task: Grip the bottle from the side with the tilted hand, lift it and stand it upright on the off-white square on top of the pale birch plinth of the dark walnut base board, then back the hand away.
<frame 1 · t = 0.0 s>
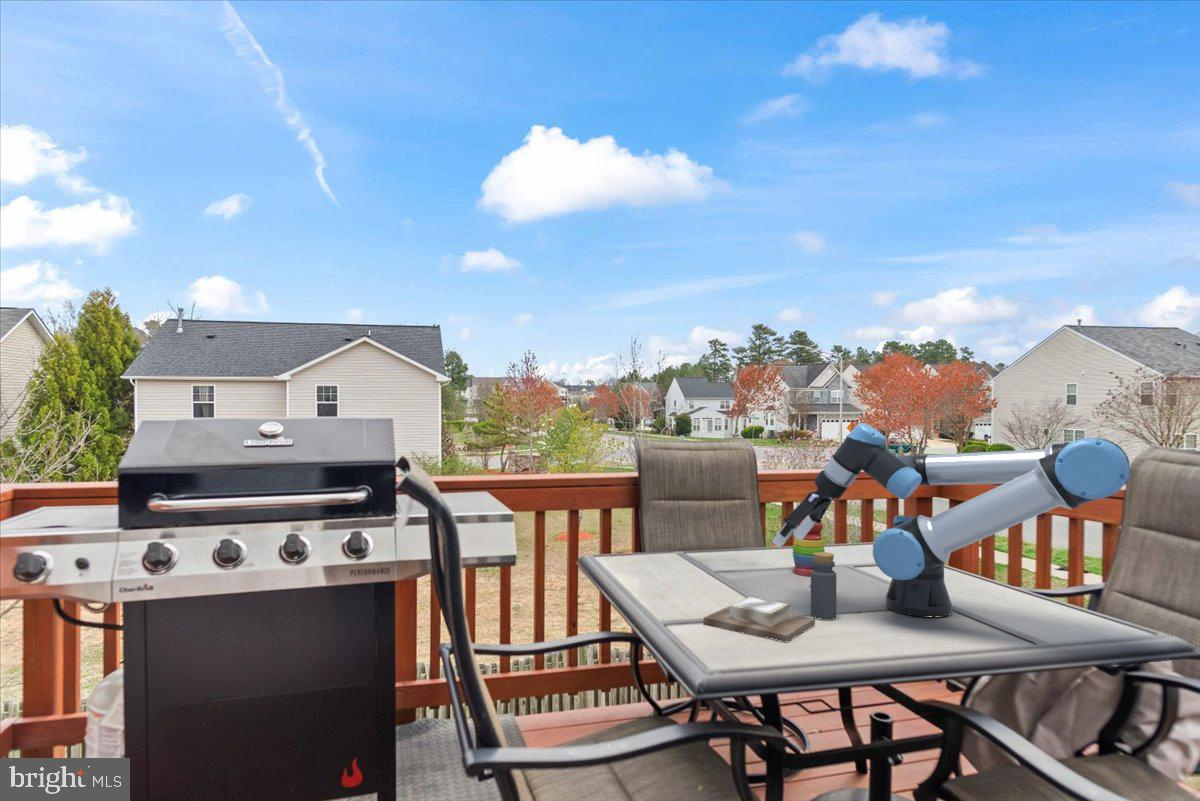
hand: (787, 541, 182), 15 cm above the table, tool tilted 35°, fingers open, 13 cm apart
plinth: (759, 624, 160), on the table
bottle: (823, 617, 167), on the table
stacking bear: (809, 574, 213), on the table
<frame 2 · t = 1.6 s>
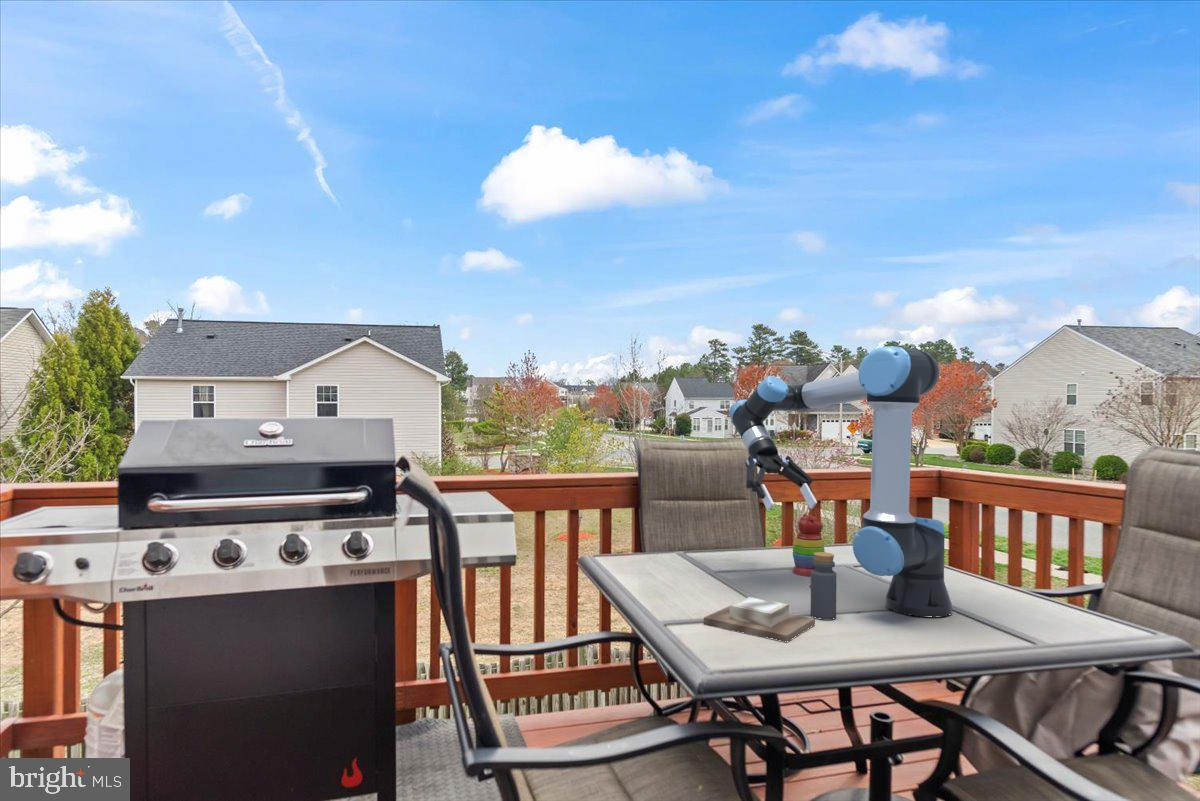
hand: (792, 506, 183), 24 cm above the table, tool tilted 45°, fingers open, 13 cm apart
nothing on the table moved.
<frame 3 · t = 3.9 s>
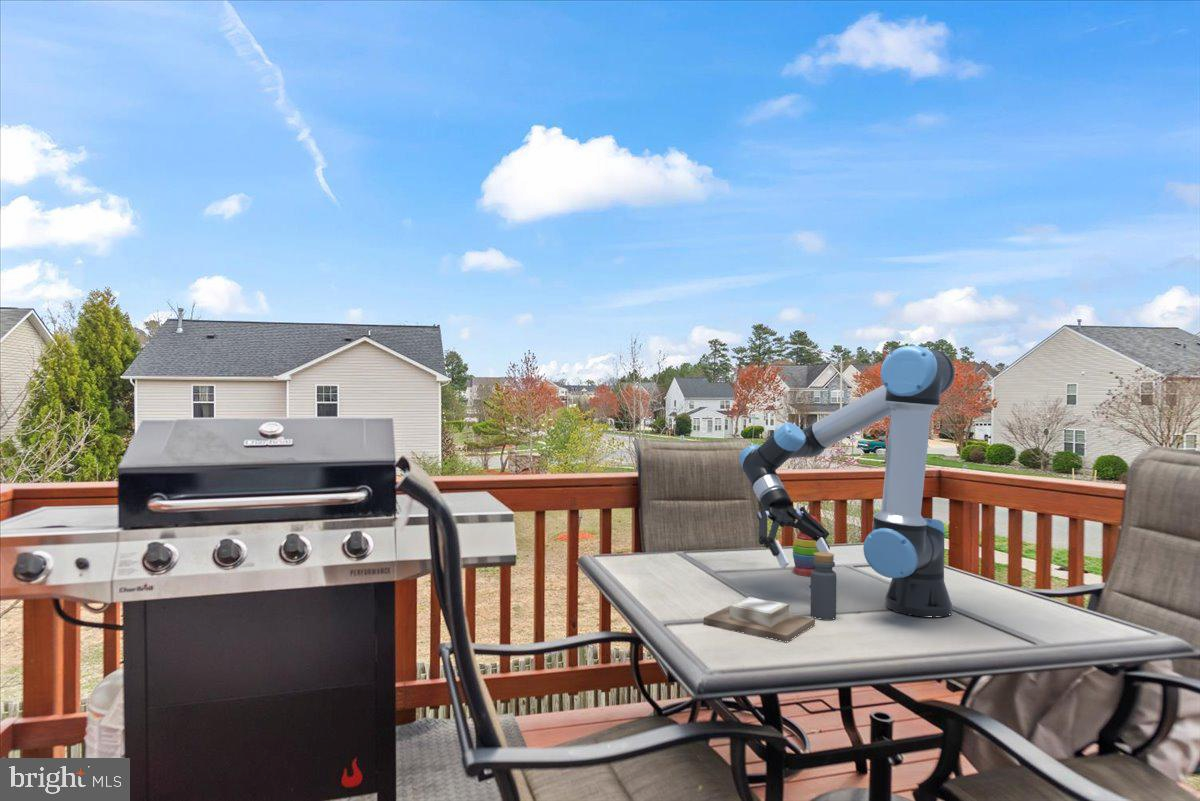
hand: (808, 564, 171), 12 cm above the table, tool tilted 45°, fingers open, 13 cm apart
nothing on the table moved.
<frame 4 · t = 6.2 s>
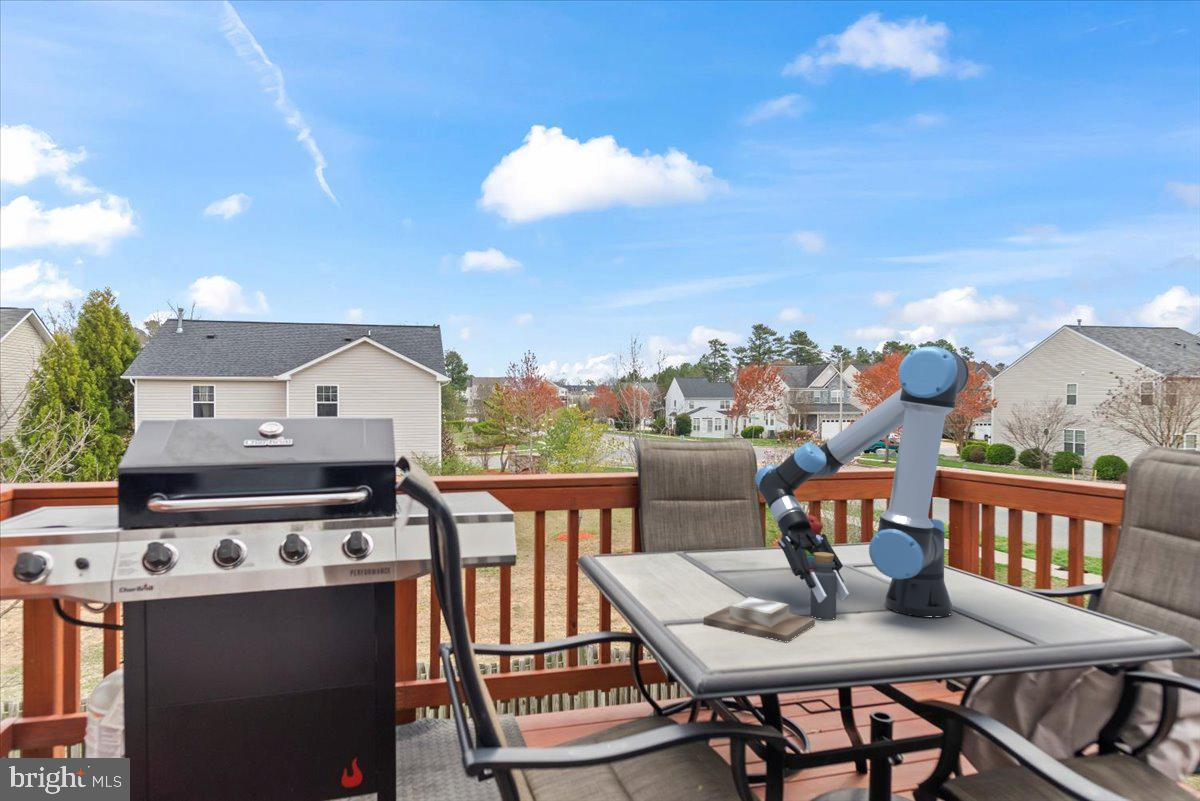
hand: (833, 597, 164), 5 cm above the table, tool tilted 45°, fingers closed on bottle, 6 cm apart
bottle: (823, 617, 167), on the table, touching gripper
everything else where it was.
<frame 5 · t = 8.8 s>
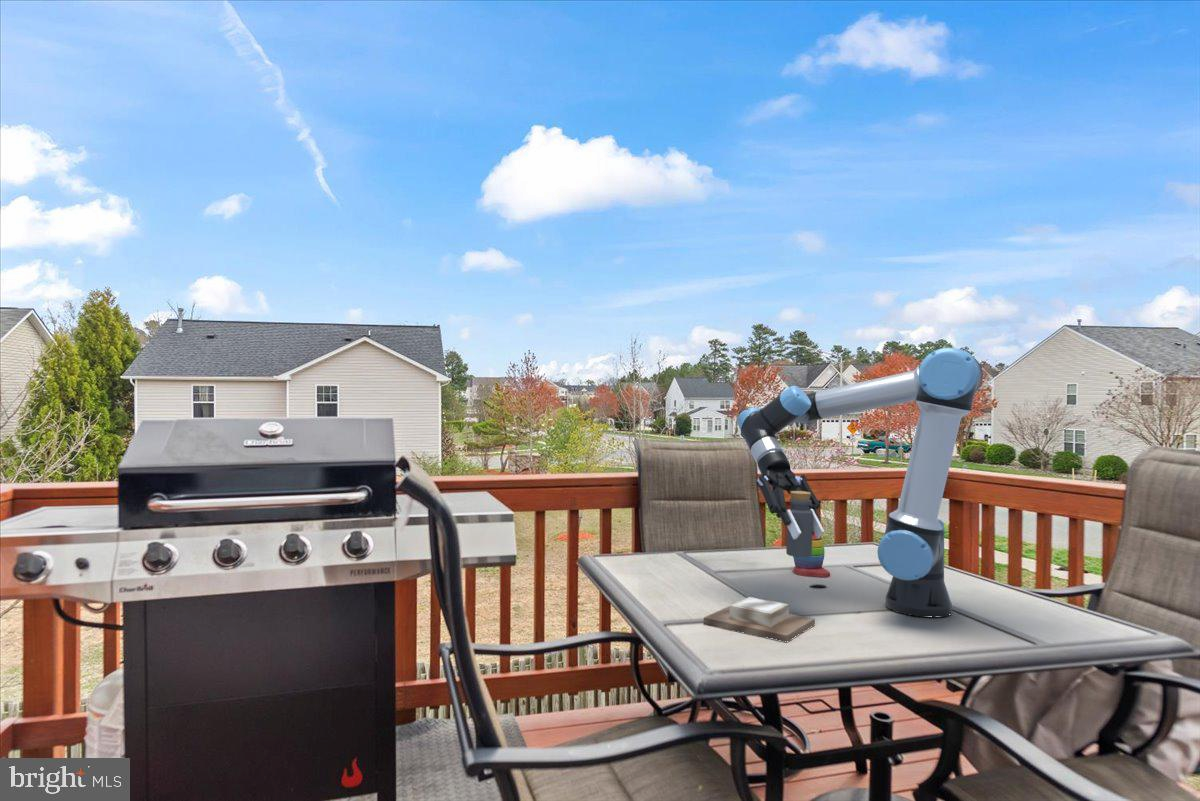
hand: (809, 535, 164), 20 cm above the table, tool tilted 45°, fingers closed on bottle, 6 cm apart
bottle: (798, 555, 167), point 15 cm above the table, touching gripper
everything else where it was.
when the fingers open (11 cm above the table, at t = 11.7 s): bottle drops 1 cm, resting on plinth.
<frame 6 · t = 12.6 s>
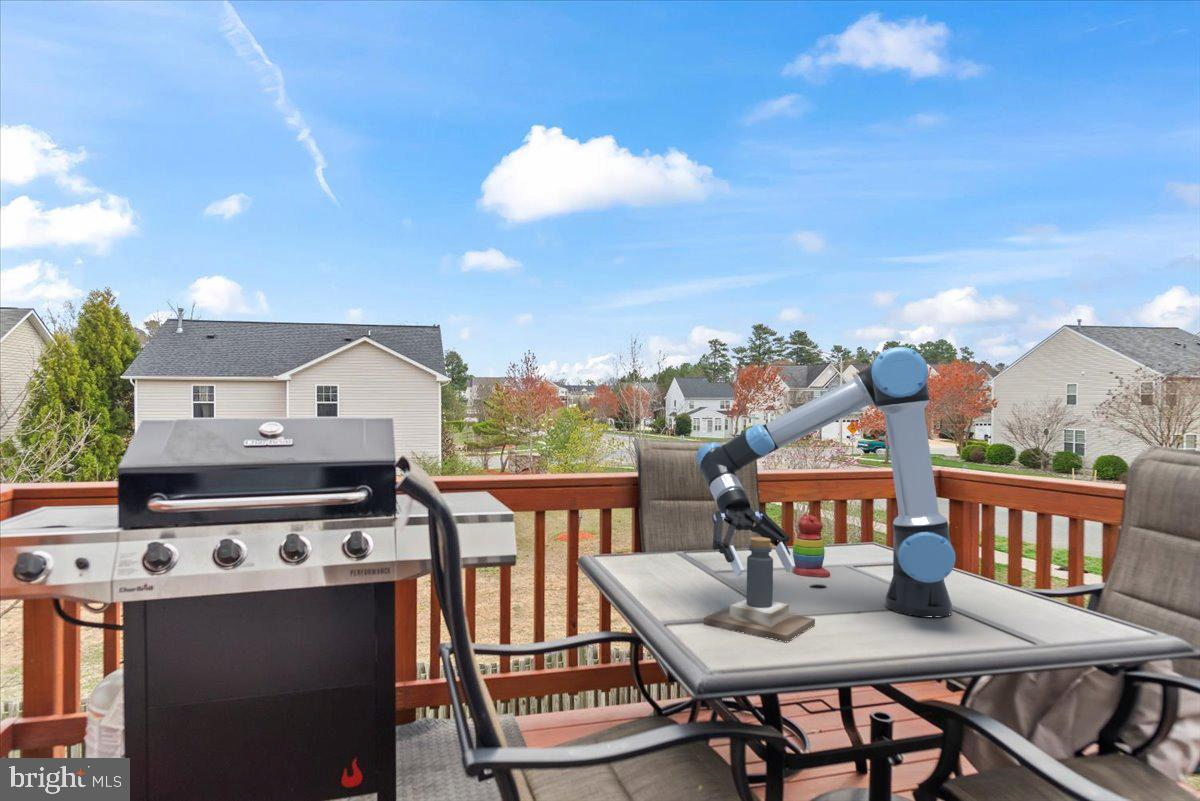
hand: (765, 571, 158), 13 cm above the table, tool tilted 45°, fingers open, 13 cm apart
bottle: (759, 605, 160), point 4 cm above the table, touching plinth
everything else where it was.
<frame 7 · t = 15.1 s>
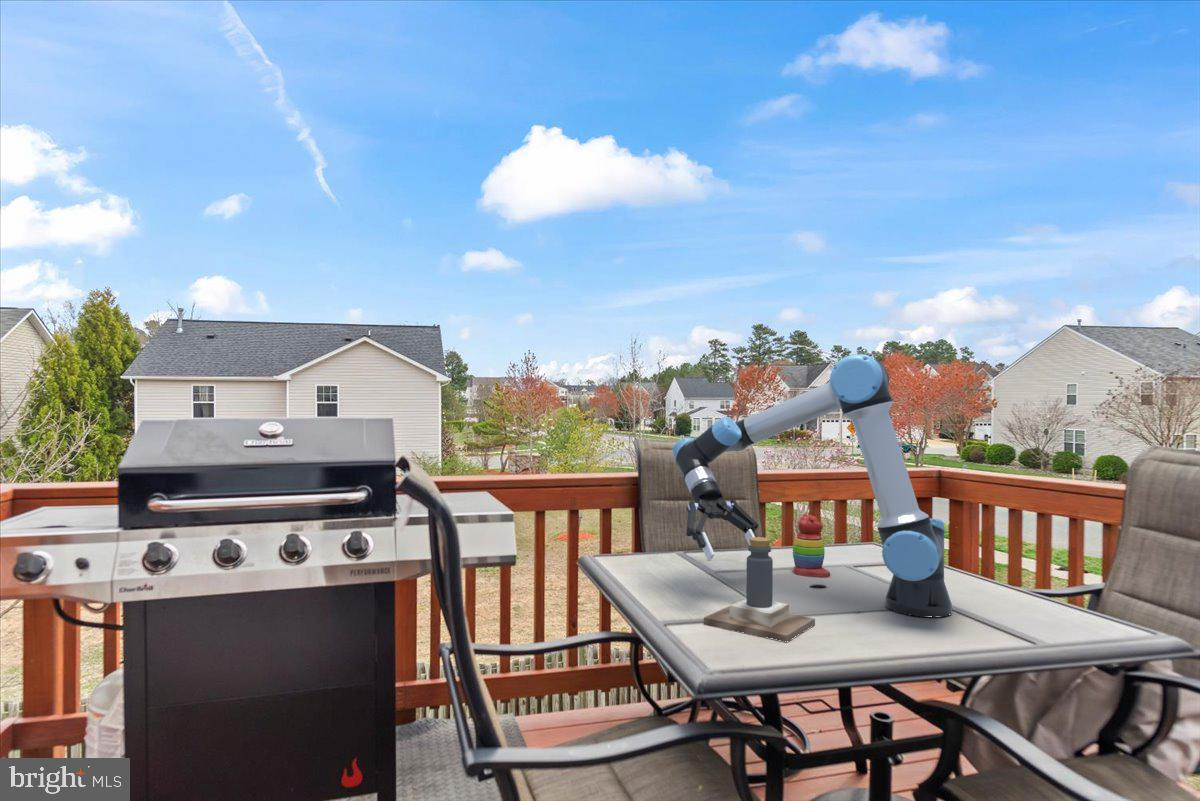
hand: (735, 555, 171), 13 cm above the table, tool tilted 45°, fingers open, 13 cm apart
nothing on the table moved.
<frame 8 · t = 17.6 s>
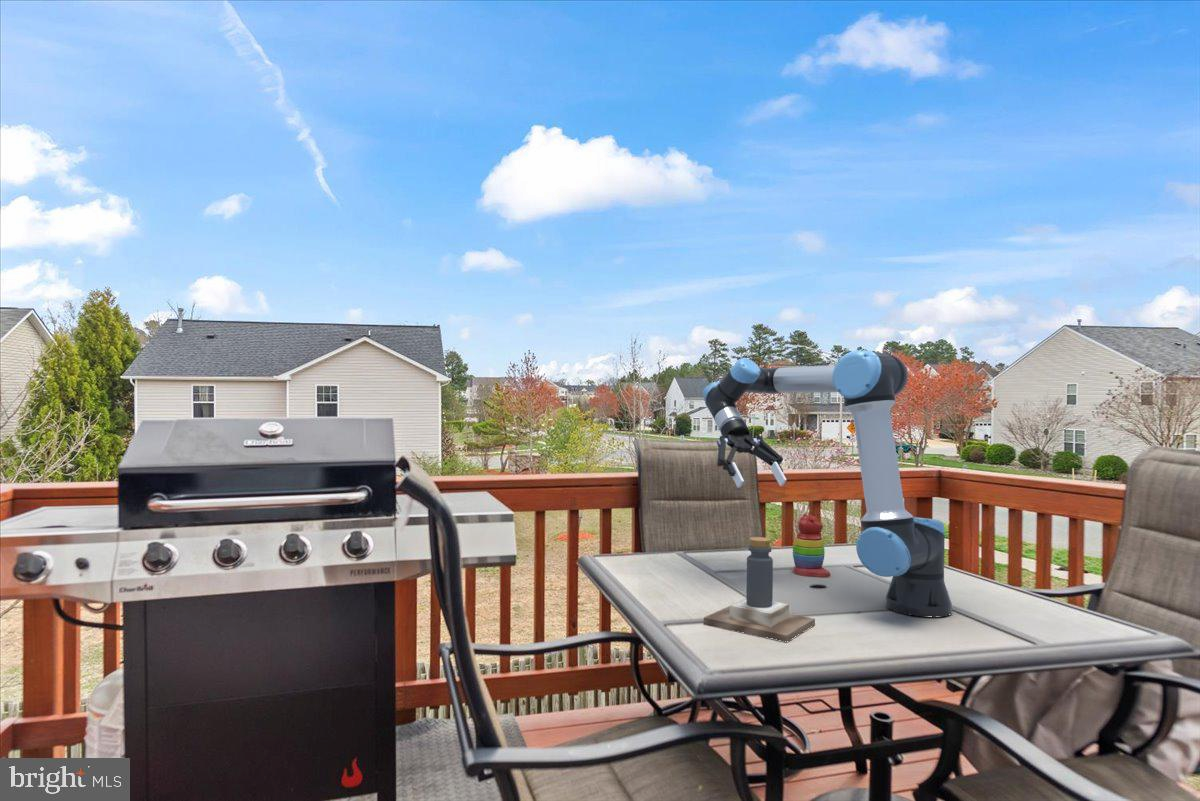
hand: (762, 483, 187), 30 cm above the table, tool tilted 45°, fingers open, 13 cm apart
nothing on the table moved.
at the end: bottle inside the target area on the plinth (0.1 cm from its centre), point 4.4 cm above the plinth's base; bottle tilted 0°; the gripper is holding nothing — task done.
